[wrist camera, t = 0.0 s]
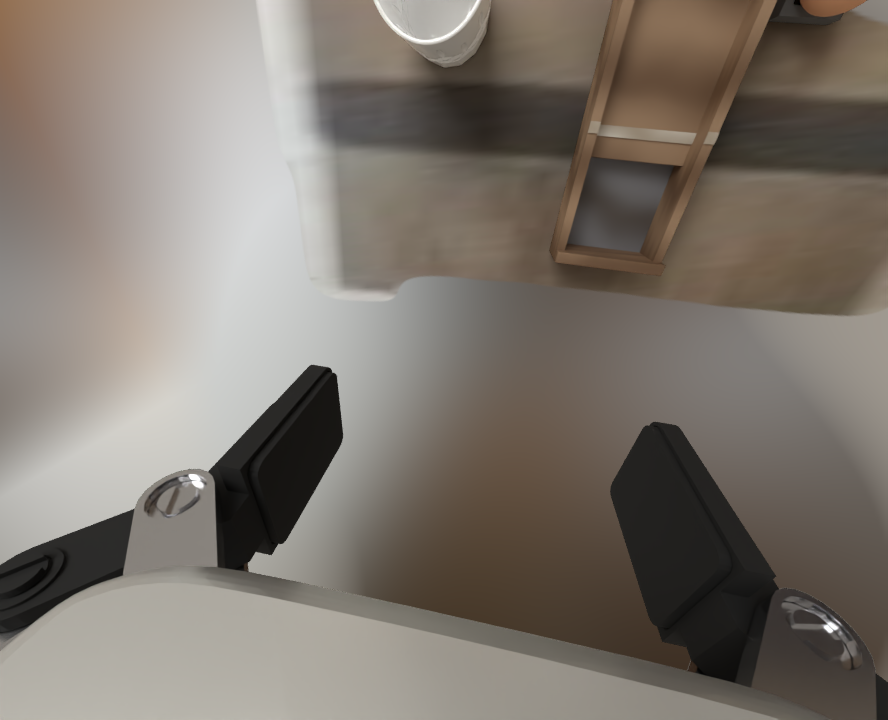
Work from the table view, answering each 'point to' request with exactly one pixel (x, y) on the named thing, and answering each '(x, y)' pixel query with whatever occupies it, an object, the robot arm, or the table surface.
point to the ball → (829, 6)
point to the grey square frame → (798, 14)
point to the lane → (651, 126)
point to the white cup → (439, 26)
